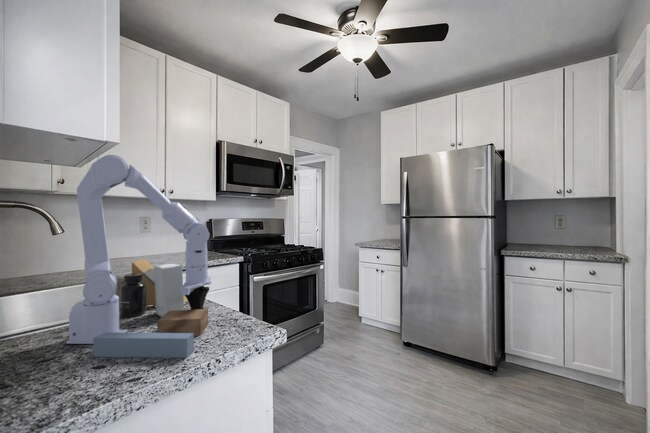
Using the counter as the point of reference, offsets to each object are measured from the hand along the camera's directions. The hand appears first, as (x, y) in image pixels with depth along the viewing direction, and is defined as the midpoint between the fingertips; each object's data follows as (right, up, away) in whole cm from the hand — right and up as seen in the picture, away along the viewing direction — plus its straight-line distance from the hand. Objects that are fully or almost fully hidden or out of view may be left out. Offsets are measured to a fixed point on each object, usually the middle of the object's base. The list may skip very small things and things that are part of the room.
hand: (196, 314), depth 87 cm
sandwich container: (-19, -2, +18) cm, 26 cm away
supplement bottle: (-22, -2, +6) cm, 23 cm away
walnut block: (0, -2, -7) cm, 8 cm away
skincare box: (-11, -2, +6) cm, 12 cm away
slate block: (-3, -2, -21) cm, 21 cm away
